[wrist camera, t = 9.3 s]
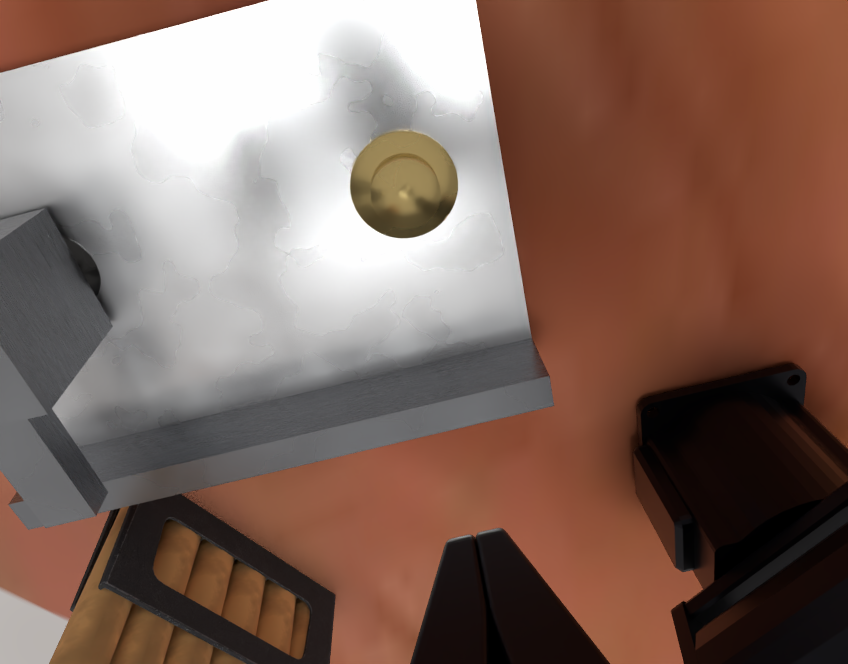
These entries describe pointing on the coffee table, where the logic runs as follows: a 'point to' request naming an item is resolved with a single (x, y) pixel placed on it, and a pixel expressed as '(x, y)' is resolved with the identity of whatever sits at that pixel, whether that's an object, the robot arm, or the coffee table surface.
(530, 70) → the coffee table surface
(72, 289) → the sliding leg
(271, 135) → the hole plate
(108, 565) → the ammunition clip
